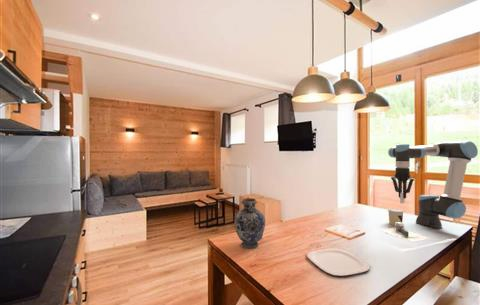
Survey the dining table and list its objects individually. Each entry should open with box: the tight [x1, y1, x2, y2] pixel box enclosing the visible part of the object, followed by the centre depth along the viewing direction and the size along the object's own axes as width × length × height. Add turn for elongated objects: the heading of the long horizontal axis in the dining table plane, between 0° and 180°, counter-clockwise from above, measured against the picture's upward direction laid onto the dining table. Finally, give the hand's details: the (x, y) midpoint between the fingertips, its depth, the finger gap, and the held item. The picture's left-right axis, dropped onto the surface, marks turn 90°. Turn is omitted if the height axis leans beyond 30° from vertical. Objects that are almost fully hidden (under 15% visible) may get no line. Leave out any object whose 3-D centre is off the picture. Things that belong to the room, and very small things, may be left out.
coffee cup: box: [387, 208, 404, 226], centre depth 169 cm, size 9×9×12 cm
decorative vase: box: [234, 196, 266, 250], centre depth 137 cm, size 21×19×28 cm
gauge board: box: [379, 226, 431, 243], centre depth 149 cm, size 18×22×2 cm
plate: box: [306, 248, 371, 277], centre depth 115 cm, size 25×25×2 cm
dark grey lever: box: [394, 222, 409, 236], centre depth 150 cm, size 13×5×5 cm, turn 166°
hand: (402, 203), depth 148 cm, fingers closed
